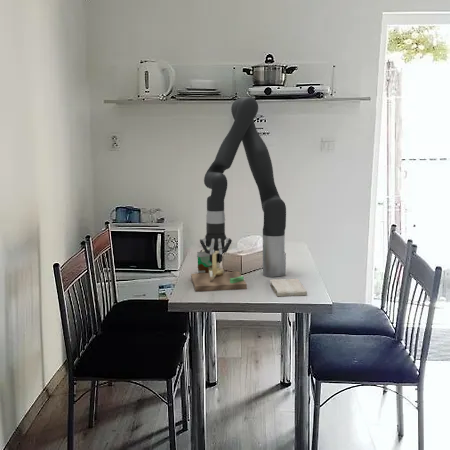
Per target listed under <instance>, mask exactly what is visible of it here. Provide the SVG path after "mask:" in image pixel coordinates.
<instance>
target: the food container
mask: <svg viewBox="0 0 450 450" xmlns="http://www.w3.org/2000/svg"><path fill="white" fill-rule="evenodd" d="M205 246H206V245H205ZM206 248H207V250H209V249H210V247H207V246H206ZM213 253H214V249H213ZM196 257H197V271H198V272H197V274H198V273H209V269H210V268H212V263H211V262H210V258H209V254H208V253H206V252H205V250H204V249H203V248H202V249H201V250H200V251H197V254H196Z"/></svg>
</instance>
